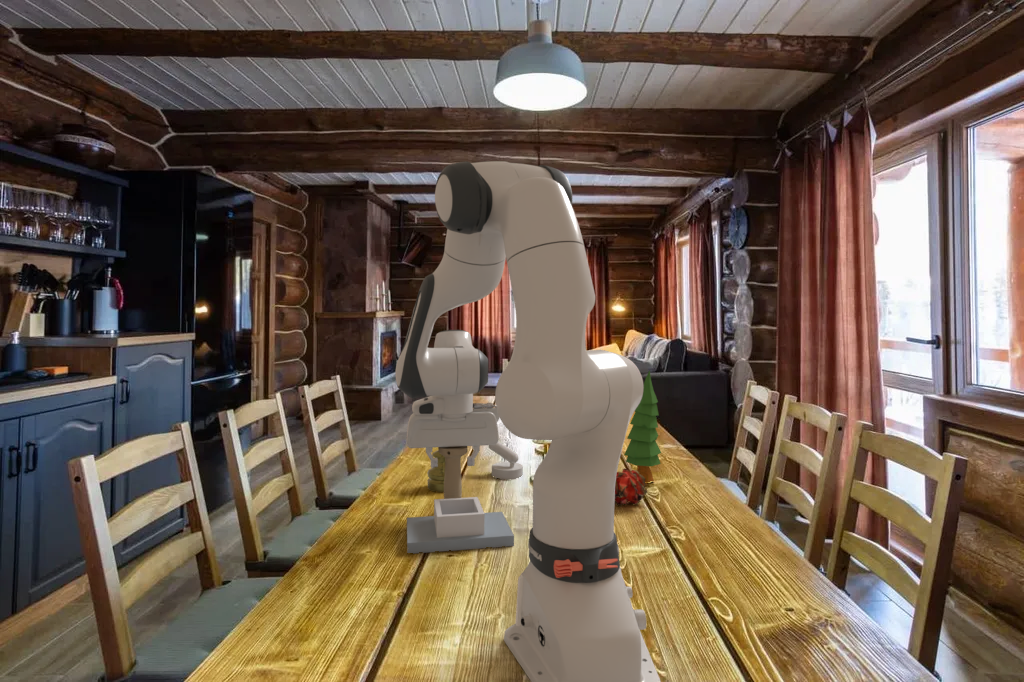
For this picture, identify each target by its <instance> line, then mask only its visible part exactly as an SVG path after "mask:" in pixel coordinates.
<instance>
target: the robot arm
mask: <svg viewBox="0 0 1024 682" xmlns="http://www.w3.org/2000/svg"><path fill="white" fill-rule="evenodd" d="M435 183H436V184H435V191H434V202H435V209H436V213H437V214H436V215H437V217H438V219H439V221H440V222H441V224H442V225H443V226H444V227H445V228H446V229H447V230H446V237H445V243H444V252H443V255H442V259H441V261H440V263H439V264H438V266H437V268H436V269H435V270H434V271H433V272H432V273H430V274H428V275H426V276H425V277H424V278H423V280H422V282H421V285H420V288H419V290H418V294H417V297H416V299H415V300H416V301H415V302H414V307H413V310H412V313H411V317H410V321H409V325H408V329H407V332H406V336H405V340H404V344H403V346H402V348H401V351H400V353H399V357H398V360H397V362H396V366H395V381H396V385H397V388H398V389H399V391H401V393H403V394H404V395H406V396H407V397H409V398H410V399H416V400H415V401H413V402H412V405H411V410H412V414H410V415H409V418H408V421H407V427H406V428H407V429H406V438H405V444H406V445H407V447H408V448H409V449H425V453H426V455H427V456H428V458H429V460H430V469H431V468H434V467H438V464H437V463H438V459H437V458H435V457H433V456H432V454H433V448H438V447H458V446H467V447H472V450H473V452H472V453H471V455H470V456H469V455H468V456H467V457H466V459H467V462H466V463H467V464H466V465H467V467H474V466H475V463H476V462H475V460H476V459H475V458H476V457H477V456H478V454H479V452H480V450H481V448H480V447H481V446H482V447H483V446H489V445H496V444H497V442H498V441H499V437H500V436H499V426H498V422H499V420H500V421H501V423H502V424H503V425H504V427H505V428H506V429H507V430H508V431H509V432H510V433H511V434H513V435H514V436H515V437H518V438H521V439H525V440H532V441H533V440H535V441H550V444H549V448H548V450H547V452H546V454H545V456H544V458H543V459H542V461H541V462H540V463H539V465H538V466H537V468H536V469H535V473H534V476H533V480H532V528H531V529H530V530H529V539H528V546H527V547H528V558H529V561H528V565H527V566H526V567H525V569H524V570H523V571H522V572H521V573H520V575H519V576H518V578H517V579H518V580H517V591H516V592H517V593H516V595H517V596H516V607H515V608H516V609H515V610H516V612H515V623H514V624H512V625H510V626H509V627H508V628H506V629H505V630H504V633H503V634H504V636H503V641H504V643H505V644H506V646H507V647H508V649H509V650H510V652H511V653H512V654H513V656H514V658H515V659H516V661H517V662H518V664H519V665H520V667H521V668H522V670H523V672H524V673H525V674H526V676H527V677H528V678H529V680H530V682H661V678H660V676H659V674H658V671H657V669H656V666H655V664H654V661H653V659H652V657H651V654H650V652H649V649H648V647H647V645H646V642H645V640H644V637H643V635H642V633H641V632H642V631H641V630H646V629H647V615H646V612H645V610H644V609H641V608H640V609H633V604H632V600H631V599H632V598H633V595H634V593H633V589H632V586H626V583H625V580H624V577H623V573H622V568H621V562H620V556H619V555H620V549H619V544H618V540H617V539H618V537H617V534H616V532H615V531H614V529H615V504H616V501H615V483H616V475H617V472H618V469H619V463H620V459H621V454H622V451H623V447H624V445H625V444H624V443H625V439H626V435H627V432H628V428H629V425H630V423H631V420H632V418H633V416H634V414H635V409H636V408H637V406H638V405H639V403H640V401H641V399H642V395H643V385H644V379H643V376H642V374H641V372H640V370H639V368H638V367H637V365H636V364H635V363H634V362H633V361H632V360H631V359H629V358H628V357H626V356H624V355H622V354H618V353H616V352H612V351H609V350H605V349H604V350H603V349H592V350H587V347H586V345H587V344H586V332H587V331H586V330H587V321H588V318H589V314H590V313H591V312H592V310H593V309H594V308H595V307H594V306H595V304H596V294H595V289H594V284H593V280H592V275H591V270H590V266H589V261H588V257H587V251H586V247H585V244H584V240H583V235H582V233H581V232H582V231H581V229H580V225H579V222H578V219H577V216H576V212H575V209H574V208H573V191H572V187H571V184H570V180H569V179H568V177H567V175H566V174H565V173H564V172H563V171H562V170H559V169H558V168H554V167H552V166H548V165H543V164H540V165H533V164H526V163H516V162H508V161H505V160H504V161H501V160H500V161H499V160H498V161H497V160H496V161H495V160H494V161H479V162H478V161H477V162H470V161H461V162H455V163H451V164H448V165H446V166H445V167H444V168H443V169H442V171H441V172H440V173H439V175H438V177H437V180H436V182H435ZM506 263H507V268H508V274H509V281H510V285H511V289H512V290H511V292H512V297H513V303H514V309H515V324H516V325H515V326H516V327H515V338H514V343H513V351H512V354H511V357H510V360H509V362H508V364H507V365H506V367H505V369H504V370H503V371H502V372H501V374H500V376H499V378H498V380H497V383H496V387H495V393H494V394H495V397H494V398H495V404H493V403H492V402H485V403H482V402H474V394H477V393H480V392H481V390H483V389H484V388H485V386H486V385H487V384H488V383H489V358H488V357H487V356H486V355H485V354H484V353H483V351H481V350H480V349H479V348H475V347H474V346H473V341H472V336H471V335H472V334H471V333H470V332H468V331H466V330H462V329H448V330H442V331H439V332H438V333H436V334H435V340H434V345H433V347H428V346H429V342H430V340H431V338H432V337H431V336H432V333H433V330H434V325H435V323H436V321H437V320H438V318H440V316H442V315H444V314H445V313H447V312H448V311H452V310H453V309H455V308H458V307H461V306H464V305H468V304H471V303H475V302H478V301H481V300H482V299H485V297H487V296H489V295H491V293H493V292H494V291H495V290H496V289H497V287H498V286H499V285H500V282H501V280H502V277H503V273H504V269H505V264H506ZM418 398H420V399H418ZM417 399H418V400H417ZM499 442H500V441H499Z"/></svg>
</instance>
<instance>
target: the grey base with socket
mask: <svg viewBox="0 0 1024 682" xmlns="http://www.w3.org/2000/svg"><path fill="white" fill-rule="evenodd" d="M406 540H407V541H406V545H407V547H406V549H407V550H406V551H407V553H413V554H420V553H419V552H423V553H436V552H435V551H439V552H451V551H462V550H463V551H464V550H477V549H478V550H479V549H487V548H486V547H492V548H502V546H505V547H514V546H515V535H514V532H513V531H512V529H511V526H510V525H509V523H508V521H507V519H506V516H505V515H504V513H503V511H491V512H489V511H488V512H484V509H483V506H482V504H481V502H480V499H479V497H478V496H471V497H470V496H469V497H462V498H451V499H444V498H438V499H436V498H435V499H433V515H432V516H431V515H430V516H429V515H428V516H415V517H413V516H412V517H406ZM449 550H451V551H449ZM423 553H422V554H423Z"/></svg>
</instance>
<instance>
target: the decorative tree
mask: <svg viewBox="0 0 1024 682" xmlns="http://www.w3.org/2000/svg"><path fill="white" fill-rule="evenodd" d="M658 402H659V401H658V399H657V395H656V393H655V391H654V386H653V383H652V377H651V370H648V372H647V375H646V377H645V379H644V381H643V395H642V399H641V401H640V403H639V405H638V406H637V408H636V409H635V411H634V413H633V415H632V417H631V420H630V422H629V425H632V427H631V429H630V431H629V434H628V435H627V438H626V439H628V440H630V441H629V444H628V445H627V448H626V449H625V451H624V454H623V455H624V456H627V457H626V460H625V462H626V463H627V464H628V463H629V464H631V465H633V466H636V467H637V469H636V470H637V471H638V472H639V474H640V475H642V476H643V477H644V478H645V482H650V481H654V476H653V472H652V469H651V467H655V466H658V465H661V464H662V463H661V461H660V457H659V455H660V454H662V451H661V449H660V447H659V445H658V442H657V439H658V438H659V434H658V431H657V428H659V424H658V420H657V416H659V410H658V409H659V408H658V405H657V403H658ZM654 482H655V481H654Z"/></svg>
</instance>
